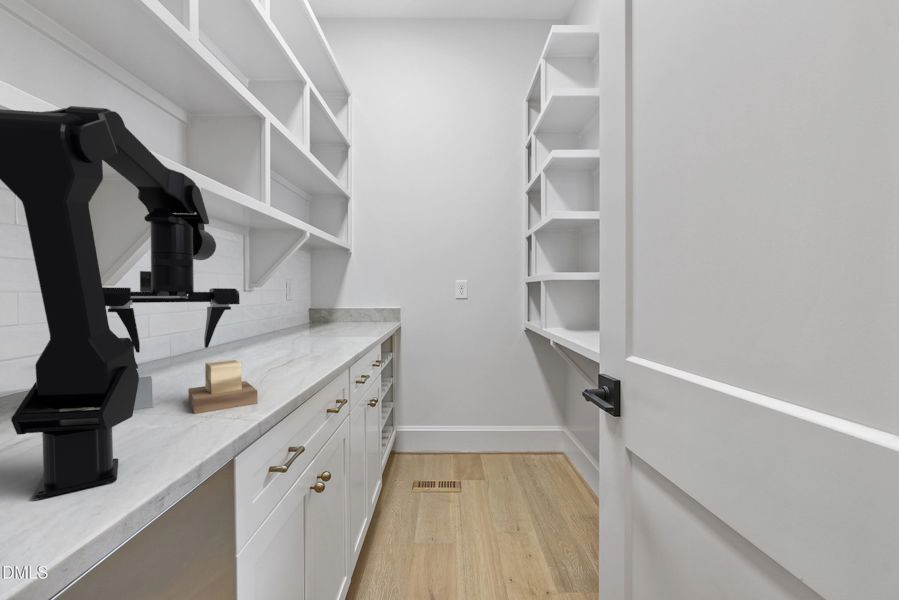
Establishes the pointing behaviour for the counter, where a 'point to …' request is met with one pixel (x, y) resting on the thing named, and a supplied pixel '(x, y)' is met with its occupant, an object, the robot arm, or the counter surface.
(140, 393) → the slate cube
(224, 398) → the walnut block
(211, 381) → the maple cube
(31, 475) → the counter surface
